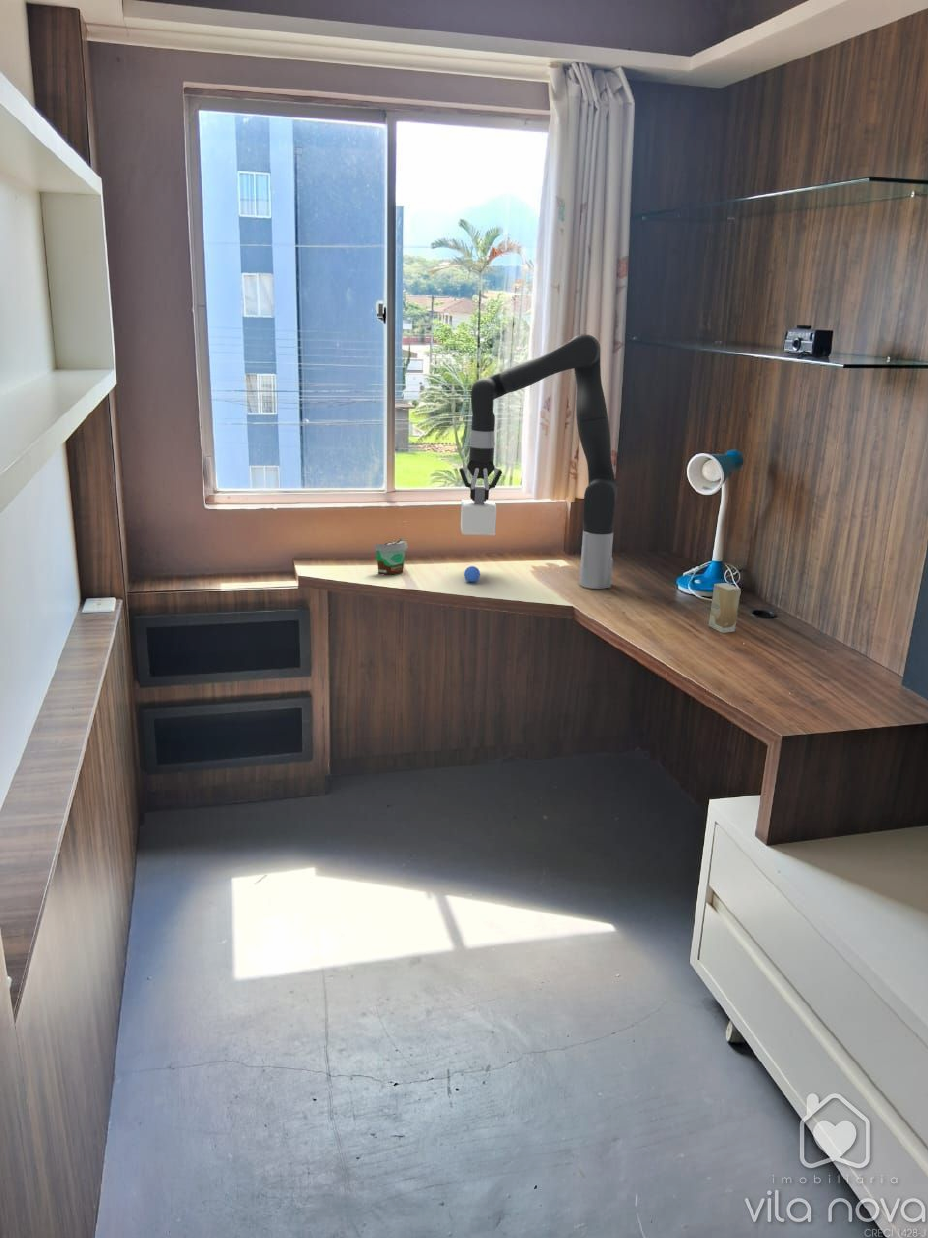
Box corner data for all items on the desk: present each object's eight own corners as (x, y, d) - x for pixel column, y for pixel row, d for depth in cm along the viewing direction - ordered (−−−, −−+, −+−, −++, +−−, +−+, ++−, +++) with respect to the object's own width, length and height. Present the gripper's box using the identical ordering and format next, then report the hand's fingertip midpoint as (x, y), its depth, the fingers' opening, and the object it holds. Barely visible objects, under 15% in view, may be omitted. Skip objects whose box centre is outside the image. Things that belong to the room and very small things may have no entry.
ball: (479, 580, 296) (480, 564, 294) (480, 584, 291) (480, 568, 290) (463, 579, 296) (463, 564, 294) (464, 584, 291) (464, 568, 289)
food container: (389, 578, 294) (389, 547, 291) (374, 574, 298) (375, 543, 295) (415, 571, 304) (415, 540, 301) (400, 567, 307) (400, 537, 304)
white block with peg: (492, 527, 303) (494, 485, 299) (494, 535, 294) (497, 491, 289) (460, 526, 303) (462, 483, 298) (462, 534, 293) (464, 489, 289)
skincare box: (707, 626, 258) (712, 583, 255) (720, 625, 260) (726, 582, 256) (722, 633, 253) (728, 589, 249) (735, 632, 254) (741, 588, 251)
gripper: (503, 444, 294) (500, 499, 299) (458, 442, 293) (456, 497, 298) (506, 447, 287) (502, 504, 292) (459, 446, 286) (457, 502, 291)
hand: (479, 500), depth 295 cm, fingers closed on white block with peg, 3 cm apart
